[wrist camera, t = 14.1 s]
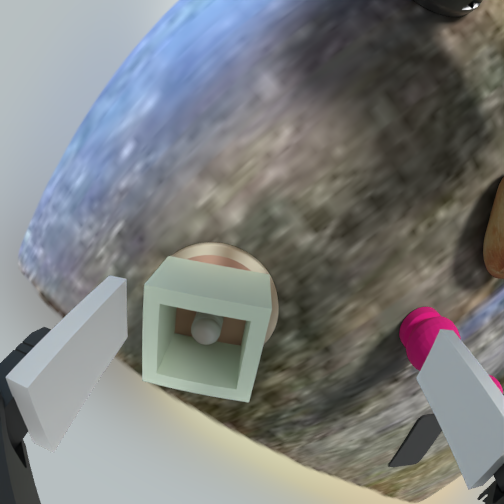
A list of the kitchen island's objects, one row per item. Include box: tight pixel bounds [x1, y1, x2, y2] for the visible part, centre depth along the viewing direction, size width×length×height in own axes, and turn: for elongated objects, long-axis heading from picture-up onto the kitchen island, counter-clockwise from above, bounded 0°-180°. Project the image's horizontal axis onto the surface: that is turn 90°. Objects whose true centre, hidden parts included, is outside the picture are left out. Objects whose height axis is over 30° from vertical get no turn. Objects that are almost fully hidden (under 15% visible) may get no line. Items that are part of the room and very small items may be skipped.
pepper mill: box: [399, 307, 503, 393], centre depth 28 cm, size 7×7×20 cm
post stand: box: [171, 242, 279, 346], centre depth 34 cm, size 15×15×8 cm
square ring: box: [142, 256, 272, 402], centre depth 32 cm, size 11×11×8 cm
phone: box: [389, 414, 442, 467], centre depth 45 cm, size 7×1×15 cm
